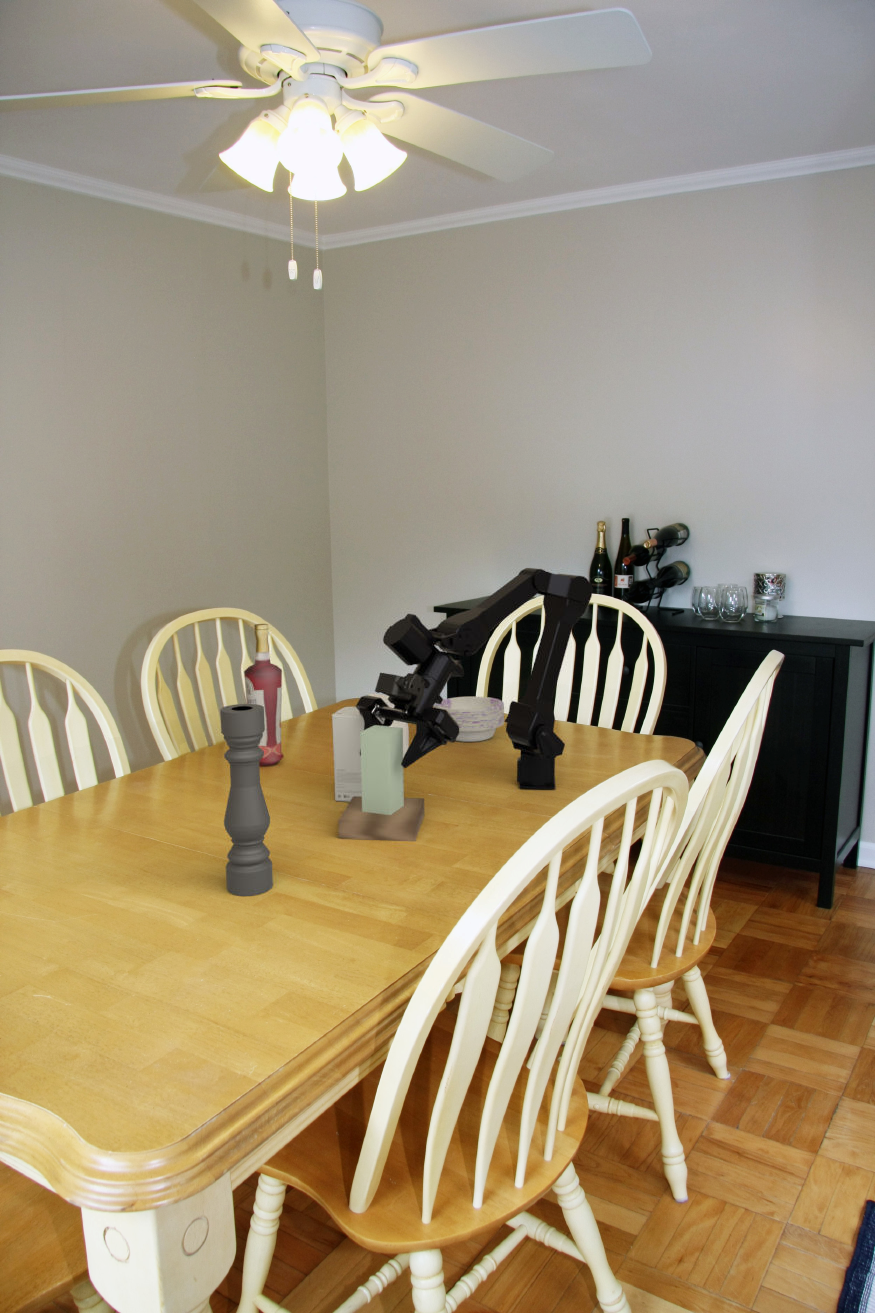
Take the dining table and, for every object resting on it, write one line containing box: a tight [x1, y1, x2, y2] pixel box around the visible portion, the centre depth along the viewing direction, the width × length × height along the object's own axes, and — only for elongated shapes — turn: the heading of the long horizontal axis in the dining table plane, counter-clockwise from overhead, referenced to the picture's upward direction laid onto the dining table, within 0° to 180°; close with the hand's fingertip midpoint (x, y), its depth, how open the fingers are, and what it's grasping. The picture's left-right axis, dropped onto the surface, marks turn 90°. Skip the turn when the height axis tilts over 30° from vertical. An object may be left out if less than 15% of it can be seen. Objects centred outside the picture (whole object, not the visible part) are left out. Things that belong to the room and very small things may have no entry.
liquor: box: [243, 623, 284, 767], centre depth 188 cm, size 7×7×28 cm
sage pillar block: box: [360, 725, 405, 815], centre depth 152 cm, size 5×5×13 cm
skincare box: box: [331, 706, 364, 803], centre depth 168 cm, size 8×7×16 cm
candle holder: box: [219, 703, 274, 897], centre depth 128 cm, size 6×6×25 cm
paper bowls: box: [434, 696, 505, 743], centre depth 209 cm, size 15×15×8 cm
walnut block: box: [337, 796, 425, 842], centre depth 153 cm, size 12×12×3 cm
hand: (382, 761), depth 152 cm, fingers open, 9 cm apart
